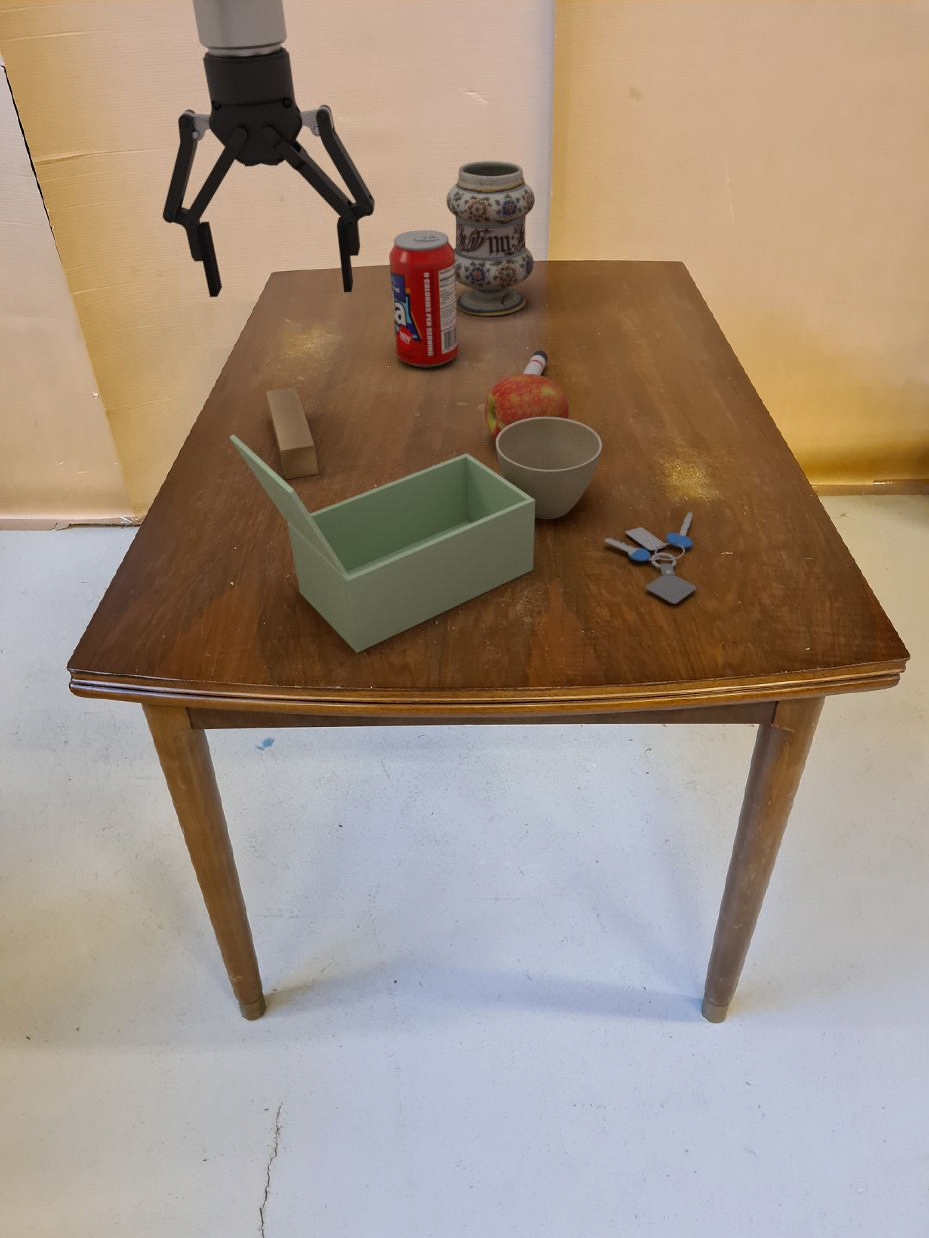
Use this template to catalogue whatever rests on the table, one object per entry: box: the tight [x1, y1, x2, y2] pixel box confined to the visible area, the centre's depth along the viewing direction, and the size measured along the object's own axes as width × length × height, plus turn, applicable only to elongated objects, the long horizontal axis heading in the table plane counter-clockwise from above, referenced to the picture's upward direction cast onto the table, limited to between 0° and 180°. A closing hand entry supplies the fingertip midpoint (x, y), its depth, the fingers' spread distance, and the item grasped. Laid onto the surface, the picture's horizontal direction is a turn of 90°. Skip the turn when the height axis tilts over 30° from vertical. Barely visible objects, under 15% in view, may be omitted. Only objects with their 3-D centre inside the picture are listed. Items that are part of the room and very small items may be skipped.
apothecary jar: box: [446, 160, 536, 317], centre depth 124 cm, size 12×12×18 cm
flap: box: [229, 434, 347, 575], centre depth 68 cm, size 9×10×1 cm
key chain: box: [604, 511, 697, 605], centre depth 83 cm, size 14×8×1 cm, turn 170°
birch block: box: [265, 386, 319, 480], centre depth 99 cm, size 4×14×4 cm, turn 16°
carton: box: [286, 453, 536, 654], centre depth 79 cm, size 18×10×8 cm, turn 126°
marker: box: [522, 349, 549, 376], centre depth 108 cm, size 15×2×2 cm, turn 164°
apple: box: [484, 373, 570, 441], centre depth 97 cm, size 8×8×8 cm
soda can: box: [388, 229, 459, 369], centre depth 112 cm, size 8×8×15 cm
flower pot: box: [495, 417, 603, 520], centre depth 88 cm, size 10×10×7 cm
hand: (282, 290), depth 93 cm, fingers open, 13 cm apart
